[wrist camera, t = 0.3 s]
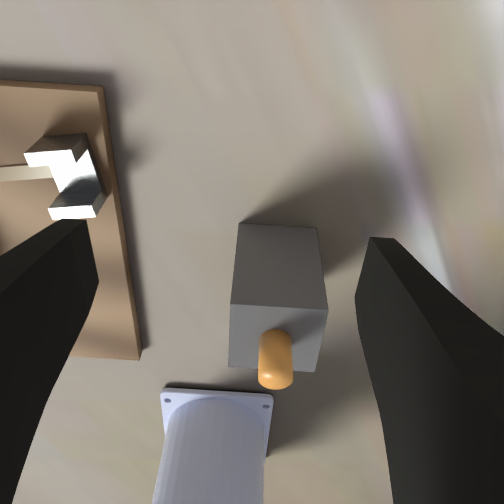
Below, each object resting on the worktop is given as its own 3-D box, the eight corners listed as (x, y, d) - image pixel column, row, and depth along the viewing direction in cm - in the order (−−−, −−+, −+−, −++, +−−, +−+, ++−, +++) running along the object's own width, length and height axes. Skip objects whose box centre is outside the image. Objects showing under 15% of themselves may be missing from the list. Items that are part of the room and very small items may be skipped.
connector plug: (306, 286, 25) (318, 411, 18) (236, 281, 25) (224, 405, 18) (316, 227, 22) (334, 348, 16) (238, 222, 22) (226, 341, 16)
